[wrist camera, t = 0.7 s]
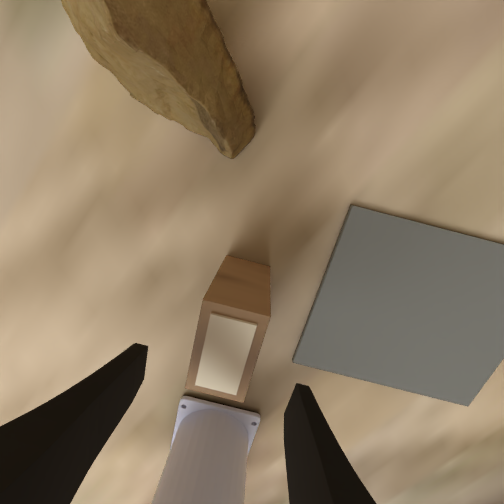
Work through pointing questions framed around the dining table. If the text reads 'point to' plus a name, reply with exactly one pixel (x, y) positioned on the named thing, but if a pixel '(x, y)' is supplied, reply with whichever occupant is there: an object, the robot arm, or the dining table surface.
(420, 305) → the rubber mat
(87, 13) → the rock
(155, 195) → the dining table surface
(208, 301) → the walnut block
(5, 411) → the dining table surface
